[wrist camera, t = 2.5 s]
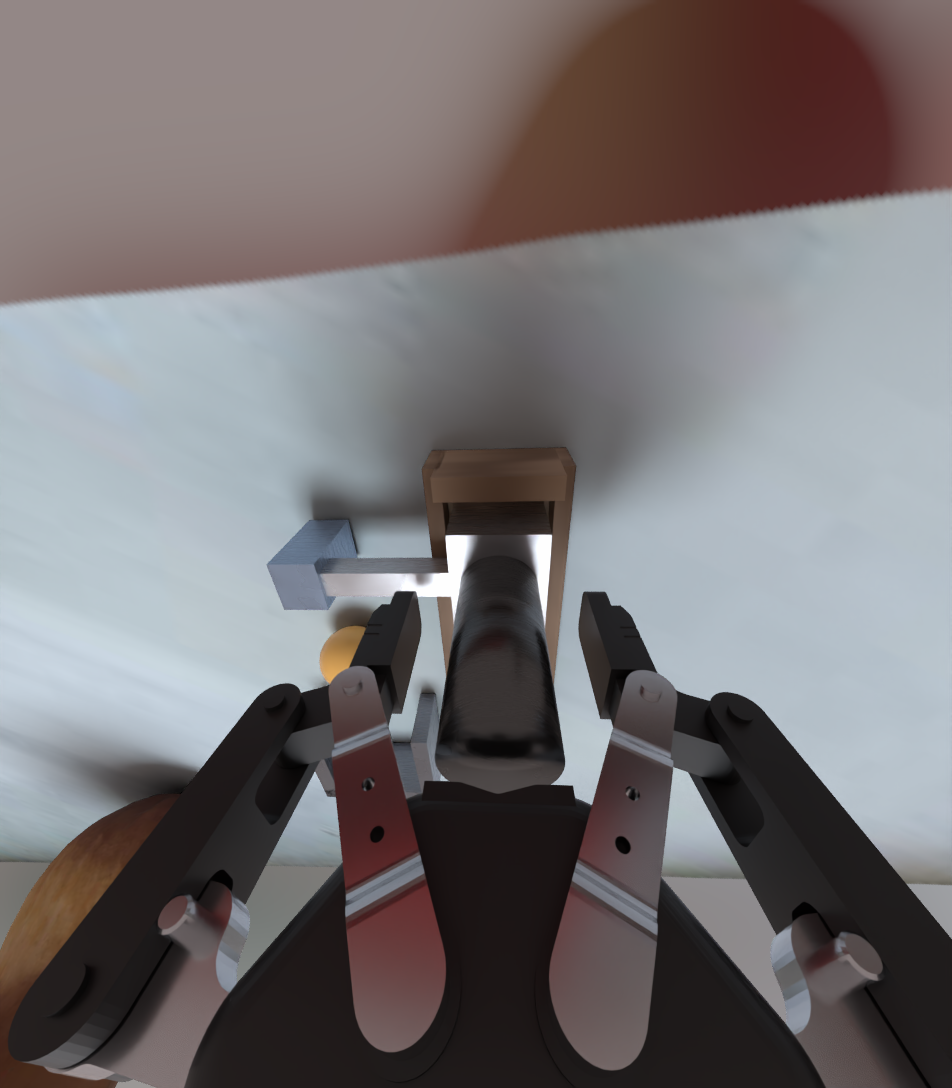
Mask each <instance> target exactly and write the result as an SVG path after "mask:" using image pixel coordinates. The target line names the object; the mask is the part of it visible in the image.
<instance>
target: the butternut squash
mask: <svg viewBox="0 0 952 1088" xmlns="http://www.w3.org/2000/svg"><path fill="white" fill-rule="evenodd" d="M180 795H181V794H175V793H169V794H158V795H154V796H151V797H149V798H146V799H142V800H139V801H136V802H133V803H131V804H129V805H127V806H125V807H123V808H121V809H119V810H117V811H115V812H113V813H111V814H109V815H107V816H105V817H103V818H101V819H100V820H98V821H97V822H95V823H94V824H92V825H91V826H90V827H88V828H87V829H86V830H84V831H83V832H82V833H81V834H80V835H78V836H77V837H76V838H75V839H74V840H72V841H71V842H70V843H69V844H68V845H67V846H66V847H65V848H64V849H63V850H62V851H61V852H60V854H59V855H58V856H57V857H56V858H55V859H54V860H53V861H52V863H51V864H50V865H49V866H48V868H47V869H46V871H45V872H44V873H43V874H42V876H41V877H40V878H39V880H38V881H37V882H36V884H35V885H34V887H33V888H32V889H31V891H30V892H29V894H28V896H27V898H26V899H25V901H24V903H23V905H22V907H21V909H20V911H19V913H18V915H17V916H16V918H15V920H14V922H13V924H12V926H11V927H10V930H9V932H8V934H7V936H6V938H5V941H4V943H3V945H2V948H1V950H0V1088H115V1087H116V1084H117V1083H118V1081H113V1080H108V1079H100V1080H87V1079H82V1078H77V1077H72V1076H66V1075H61V1074H56V1073H52V1072H50V1071H48V1070H47V1069H46V1068H45V1067H44V1066H39V1065H34V1064H30V1063H25V1062H20V1061H18V1060H15V1059H14V1058H13V1057H12V1056H11V1055H10V1052H9V1050H8V1035H9V1030H10V1027H11V1023H12V1021H13V1018H14V1016H15V1013H16V1011H17V1009H18V1007H19V1005H20V1003H21V1001H22V1000H23V998H24V997H25V995H26V993H27V992H28V990H29V989H30V988H31V986H32V985H33V983H34V982H35V981H36V979H37V978H38V977H39V976H40V974H41V973H42V972H43V970H44V969H45V968H46V967H47V965H48V964H49V963H50V961H51V960H52V959H53V958H54V956H55V955H56V954H57V952H58V951H59V950H60V949H61V947H62V946H63V945H64V944H65V942H66V941H67V940H68V938H69V937H70V936H71V935H72V933H73V932H74V931H75V929H76V928H77V927H78V926H79V924H80V923H81V922H82V920H83V919H84V918H85V917H86V915H87V914H88V913H89V912H90V910H91V909H92V908H93V906H94V905H95V904H96V903H97V901H98V900H99V899H100V897H101V896H102V895H103V894H104V892H105V891H106V890H107V888H108V887H109V886H110V885H111V883H112V882H113V881H114V879H115V878H116V877H117V876H118V874H119V873H120V872H121V871H122V869H123V868H124V867H125V865H126V864H127V863H128V862H129V860H130V859H131V858H132V856H133V855H134V854H135V853H136V851H137V850H138V849H139V847H140V846H141V845H142V844H143V842H144V841H145V840H146V839H147V837H148V836H149V835H150V833H151V832H152V831H153V830H154V828H155V827H156V826H157V824H158V823H159V822H160V821H161V819H162V818H163V817H164V815H165V814H166V813H167V812H168V810H169V809H170V808H171V807H172V805H173V804H174V803H175V801H176V800H177V799H178V798H179V796H180Z"/></svg>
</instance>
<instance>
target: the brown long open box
mask: <svg viewBox="0 0 952 1088" xmlns="http://www.w3.org/2000/svg"><path fill="white" fill-rule="evenodd" d="M575 472H576V465H575V463H574V461H573V459H572V458H571V456H570V454H569V452H568V450H567V449H566V447H560V448H518V449H476V450H434V451H431V453H430V455H429V456H428V458H427V460H426V462H425V464H424V466H423V468H422V476H423V484H424V492H425V501H426V509H427V518H428V526H429V534H430V543H431V551H432V558H447V547H446V537H445V535H446V531H447V527H448V523H449V519H450V515H451V511H452V507H453V503H462V502H530V501H544V505H545V508H546V512H547V516H548V520H549V524H550V528H551V532H552V544H551V557H550V570H549V583H548V596H547V609H546V623H545V632H546V639H547V645H548V652H549V659H550V665H551V672H552V678H553V685H554V675H555V666H556V656H557V646H558V637H559V627H560V617H561V608H562V598H563V588H564V579H565V569H566V559H567V550H568V540H569V530H570V521H571V511H572V501H573V491H574V482H575ZM437 601H438V610H439V618H440V626H441V635H442V643H443V651H444V660H445V668H446V675H447V668H448V662H449V655H450V648H451V641H452V635H453V628H454V622H453V611H452V600H451V596H437Z"/></svg>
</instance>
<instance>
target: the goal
mask: <svg viewBox="0 0 952 1088" xmlns="http://www.w3.org/2000/svg"><path fill="white" fill-rule="evenodd" d="M438 729H439V717H438V710H437V704H436V697H435V694H421V695H420V700H419V704H418V709H417V714H416V719H415V723H414V728H413V733H412V738H411V742H410V743H393V747H394V751H395V754H396V758H397V762H398V766H399V770H400V774H401V778H402V782H403V786H404V789H405V793H406V797H407V798H409V797H411V796H414V795H416V794H420V793H423V787H424V781H440V775H441V773H440V772H439V770H438V769H437V767H436V764H435V758H434V756H435V749H436V742H437V736H438ZM315 772H316V774H317V776H318V778H319V780H320V782H321V784H322V786H323V788H324V790H325V792H326V794H327V796H328V797H336V793H335V784H334V774H333V764H332V757H329V758H326V759H323V760H320V762H319V764H318V766H317V768H316V770H315Z"/></svg>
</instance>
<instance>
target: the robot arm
mask: <svg viewBox="0 0 952 1088" xmlns="http://www.w3.org/2000/svg"><path fill="white" fill-rule="evenodd" d="M420 637H421V617H420V611H419V604H418V598H417V593H416V591H396V592H395V593H394V596H393V598H392V601H391V604H382V605H381V606H380V607H379V608H378V609H377V610H375V611H374V612H373V613H372V615H371V618H370V620H369V622H368V626H367V627H366V629H365V631H364V635H363V636H362V638H361V641H360V643H359V645H358V648H357V650H356V652H355V654H354V657H353V659H352V661H351V664H350V666H349V668H347V669H345V670H343V671H341V672H340V673H339V674H337V675H336V676H335V677H334V679H333V680H332V681H331V683H330V685H328V686H325V687H322V688H318V689H314V690H310V691H306V692H303V693H301V692H300V690H299V688H298V687H297V686H295V685H293V684H286V683H285V684H279V685H276V686H273V687H271V688H269V689H267V690H265V691H264V692H263V693H261V694H260V695H259V696H258V697H257V698H256V699H255V700H254V702H253V703H252V704H251V705H250V707H249V708H248V709H247V710H246V712H245V713H244V714H243V716H242V717H241V718H240V719H239V721H238V722H237V723H236V725H235V726H234V727H233V728H232V730H231V731H230V732H229V734H228V735H227V736H226V737H225V739H224V740H223V741H222V742H221V744H220V745H219V746H218V748H217V749H216V750H215V751H214V753H213V754H212V755H211V757H210V758H209V759H208V760H207V762H206V763H205V764H204V766H203V767H202V768H201V769H200V771H199V772H198V773H197V774H196V776H195V777H194V778H193V780H192V781H191V782H190V783H189V785H188V786H187V787H186V789H185V790H184V791H183V792H182V794H181V795H180V796H179V798H178V799H177V800H176V801H175V803H174V804H173V805H172V807H171V808H170V809H169V810H168V812H167V813H166V814H165V815H164V817H163V818H162V819H161V821H160V822H159V823H158V824H157V826H156V827H155V828H154V830H153V831H152V832H151V833H150V835H149V836H148V837H147V839H146V840H145V841H144V842H143V844H142V845H141V846H140V847H139V849H138V850H137V851H136V853H135V854H134V855H133V856H132V858H131V859H130V860H129V862H128V863H127V864H126V865H125V867H124V868H123V869H122V871H121V872H120V873H119V874H118V876H117V877H116V878H115V879H114V881H113V882H112V883H111V885H110V886H109V887H108V888H107V890H106V891H105V892H104V894H103V895H102V896H101V897H100V899H99V900H98V901H97V903H96V904H95V905H94V906H93V908H92V909H91V910H90V912H89V913H88V914H87V915H86V917H85V918H84V919H83V920H82V922H81V923H80V924H79V926H78V927H77V928H76V929H75V931H74V932H73V933H72V935H71V936H70V937H69V938H68V940H67V941H66V942H65V944H64V945H63V946H62V947H61V949H60V950H59V951H58V952H57V954H56V955H55V956H54V958H53V959H52V960H51V961H50V963H49V964H48V965H47V967H46V968H45V969H44V970H43V972H42V973H41V974H40V976H39V977H38V978H37V979H36V981H35V982H34V983H33V985H32V986H31V988H30V989H29V990H28V992H27V993H26V995H25V997H24V998H23V1000H22V1001H21V1003H20V1005H19V1007H18V1009H17V1011H16V1013H15V1016H14V1018H13V1021H12V1023H11V1027H10V1030H9V1035H8V1050H9V1052H10V1055H11V1056H12V1057H13V1058H14V1059H15V1060H18V1061H20V1062H25V1063H30V1064H34V1065H39V1066H44V1067H45V1068H46V1069H47V1070H48V1071H50V1072H52V1073H56V1074H61V1075H66V1076H72V1077H77V1078H82V1079H87V1080H100V1079H108V1080H113V1081H118V1082H126V1081H130V1080H133V1079H134V1080H137V1081H140V1082H143V1083H145V1084H148V1085H151V1086H154V1087H156V1088H952V939H951V938H950V937H949V935H948V934H947V933H946V932H945V930H944V929H943V928H942V927H941V926H940V924H939V923H938V922H937V921H936V920H935V918H934V917H933V916H932V915H931V914H930V912H929V911H928V910H927V909H926V908H925V906H924V905H923V904H922V903H921V901H920V900H919V899H918V898H917V897H916V895H915V894H914V893H913V892H912V891H911V889H910V888H909V887H908V886H907V884H906V883H905V882H904V881H903V880H902V878H901V877H900V876H899V875H898V873H897V872H896V871H895V870H894V869H893V867H892V866H891V865H890V864H889V863H888V861H887V860H886V859H885V858H884V857H883V855H882V854H881V853H880V852H879V850H878V849H877V848H876V847H875V846H874V844H873V843H872V842H871V841H870V840H869V838H868V837H867V836H866V835H865V833H864V832H863V831H862V830H861V829H860V827H859V826H858V825H857V824H856V823H855V821H854V820H853V819H852V818H851V817H850V815H849V814H848V813H847V812H846V810H845V809H844V808H843V807H842V806H841V804H840V803H839V802H838V801H837V800H836V798H835V797H834V796H833V795H832V793H831V792H830V791H829V790H828V789H827V787H826V786H825V785H824V784H823V783H822V781H821V780H820V779H819V778H818V776H817V775H816V774H815V773H814V772H813V770H812V769H811V768H810V767H809V766H808V764H807V763H806V762H805V761H804V760H803V758H802V757H801V756H800V755H799V753H798V752H797V751H796V750H795V749H794V747H793V746H792V745H791V744H790V743H789V741H788V740H787V739H786V738H785V736H784V735H783V734H782V733H781V732H780V730H779V729H778V728H777V727H776V726H775V724H774V723H773V722H772V721H771V720H770V718H769V717H768V716H767V715H766V713H765V712H764V711H763V710H762V709H761V708H760V707H759V706H758V705H757V704H755V703H754V702H752V701H751V700H749V699H747V698H745V697H743V696H741V695H738V694H734V693H729V692H722V693H718V694H716V695H714V696H713V697H712V698H711V701H708V700H704V699H700V698H697V697H693V696H690V695H686V694H683V693H681V692H679V691H677V690H675V688H674V686H673V685H672V684H671V683H670V682H669V681H668V680H667V679H666V678H665V677H663V676H661V675H660V674H658V673H657V671H656V669H655V667H654V665H653V662H652V660H651V658H650V656H649V654H648V651H647V649H646V647H645V645H644V643H643V641H642V638H640V634H639V632H638V630H637V629H636V625H635V623H634V621H633V619H632V617H631V615H630V614H629V613H628V612H627V611H626V610H625V609H624V608H623V607H621V606H611V604H610V601H609V599H608V596H607V594H606V592H584V593H583V596H582V603H581V610H580V617H579V638H580V642H581V646H582V650H583V654H584V658H585V662H586V665H587V669H588V673H589V677H590V681H591V685H592V688H593V692H594V696H595V700H596V704H597V708H598V711H599V715H600V719H611V721H612V725H613V730H612V733H611V737H610V741H609V744H608V748H607V752H606V755H605V759H604V763H603V767H602V770H601V774H600V778H599V781H598V785H597V789H596V793H595V796H594V800H593V804H592V805H590V804H588V803H586V802H584V801H582V800H579V799H576V798H575V796H574V790H573V786H567V785H537V784H536V785H532V786H528V787H524V788H520V789H516V790H512V791H508V792H504V793H500V794H496V793H493V792H489V791H486V790H483V789H480V788H477V787H474V786H471V785H468V784H465V783H462V782H449V781H424V787H423V793H420V794H416V795H414V796H411V797H409V798H407V797H406V793H405V789H404V786H403V782H402V778H401V774H400V770H399V766H398V762H397V758H396V754H395V751H394V747H393V743H392V739H391V735H390V731H389V727H388V726H389V722H390V718H391V715H392V714H402V710H403V706H404V702H405V698H406V694H407V690H408V686H409V682H410V678H411V674H412V670H413V666H414V661H415V657H416V653H417V649H418V645H419V641H420ZM329 757H332V764H333V774H334V784H335V793H336V803H337V813H338V822H339V832H340V842H341V851H342V861H343V862H342V863H341V865H340V866H339V867H338V868H337V869H336V871H335V872H334V873H333V874H332V875H331V876H330V877H329V878H328V880H327V881H326V882H325V883H324V884H323V885H322V886H321V888H320V889H319V890H318V891H317V892H316V893H315V894H314V896H313V897H312V898H311V899H310V900H309V901H308V902H307V904H306V905H305V906H304V907H303V908H302V909H301V911H300V912H299V913H298V914H297V915H296V916H295V917H294V919H293V920H292V921H291V922H290V923H289V924H288V926H287V927H286V928H285V929H284V930H283V931H282V932H281V933H280V934H279V936H278V937H277V938H276V939H275V940H274V941H273V942H272V944H271V945H270V946H269V947H268V948H267V949H266V951H265V952H264V953H263V954H262V955H261V956H260V957H259V959H258V960H257V961H256V962H255V963H254V964H253V966H252V967H251V968H250V969H249V970H248V971H247V972H246V973H245V975H244V976H243V977H242V978H241V979H240V980H239V981H238V983H237V981H236V979H237V978H236V977H237V967H238V962H239V958H240V955H241V953H242V950H243V947H244V945H245V942H246V940H247V936H248V932H249V926H250V917H249V912H248V909H247V907H246V906H245V904H246V902H247V900H248V898H249V896H250V894H251V892H252V890H253V889H254V887H255V885H256V883H257V881H258V879H259V877H260V875H261V873H262V871H263V869H264V867H265V866H266V864H267V862H268V860H269V858H270V856H271V854H272V852H273V850H274V848H275V846H276V845H277V843H278V841H279V839H280V837H281V835H282V833H283V831H284V829H285V827H286V825H287V824H288V822H289V820H290V818H291V816H292V814H293V812H294V810H295V808H296V806H297V804H298V802H299V801H300V799H301V797H302V795H303V793H304V791H305V789H306V787H307V785H308V783H309V781H310V780H311V778H312V776H313V774H314V772H315V770H316V768H317V766H318V764H319V762H320V760H323V759H326V758H329ZM673 767H675V768H678V769H681V770H684V771H687V772H688V773H689V774H690V776H691V778H692V780H693V782H694V784H695V786H696V787H697V789H698V791H699V793H700V795H701V797H702V798H703V800H704V802H705V804H706V806H707V808H708V810H709V811H710V813H711V815H712V817H713V819H714V821H715V822H716V824H717V826H718V828H719V830H720V832H721V833H722V835H723V837H724V839H725V841H726V843H727V845H728V846H729V848H730V850H731V852H732V854H733V856H734V857H735V859H736V861H737V863H738V865H739V867H740V869H741V870H742V872H743V874H744V876H745V878H746V880H747V881H748V883H749V885H750V887H751V889H752V891H753V892H754V894H755V896H756V898H757V900H758V902H759V904H760V905H761V907H762V909H763V911H764V913H765V915H766V916H767V918H768V920H769V922H770V923H771V925H772V927H773V929H774V931H775V933H776V937H775V938H774V939H773V941H772V944H771V962H772V967H773V970H774V973H775V976H776V978H777V981H778V983H779V986H780V988H781V991H782V994H783V997H784V1001H785V1006H786V1012H787V1013H786V1015H787V1021H786V1024H785V1022H784V1021H783V1020H782V1019H781V1017H779V1015H778V1014H777V1013H776V1012H775V1010H774V1009H773V1008H772V1007H771V1006H770V1005H769V1003H768V1002H767V1001H766V1000H765V999H764V998H763V996H762V995H761V994H760V993H759V992H758V990H757V989H756V988H755V987H754V986H753V985H752V983H751V982H750V981H749V980H748V979H747V978H746V976H745V975H744V974H743V973H742V972H741V970H740V969H739V968H738V967H737V966H736V965H735V964H734V962H733V961H732V960H731V959H730V957H729V956H728V955H727V954H726V953H725V952H724V950H723V949H722V948H721V947H720V946H719V945H718V943H717V942H716V941H715V940H714V939H713V937H712V936H711V935H710V934H709V933H708V932H707V930H706V929H705V928H704V927H703V926H702V924H701V923H700V922H699V921H698V920H697V919H696V917H695V916H694V915H693V914H692V913H691V912H690V910H689V909H688V908H687V907H686V906H685V904H684V903H683V902H682V901H681V900H680V899H679V898H678V896H677V895H676V894H675V893H674V892H673V890H672V889H671V888H670V887H669V886H668V884H667V883H666V882H665V881H664V880H663V879H662V877H661V873H662V864H663V855H664V846H665V837H666V828H667V819H668V810H669V801H670V792H671V783H672V774H673Z"/></svg>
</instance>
